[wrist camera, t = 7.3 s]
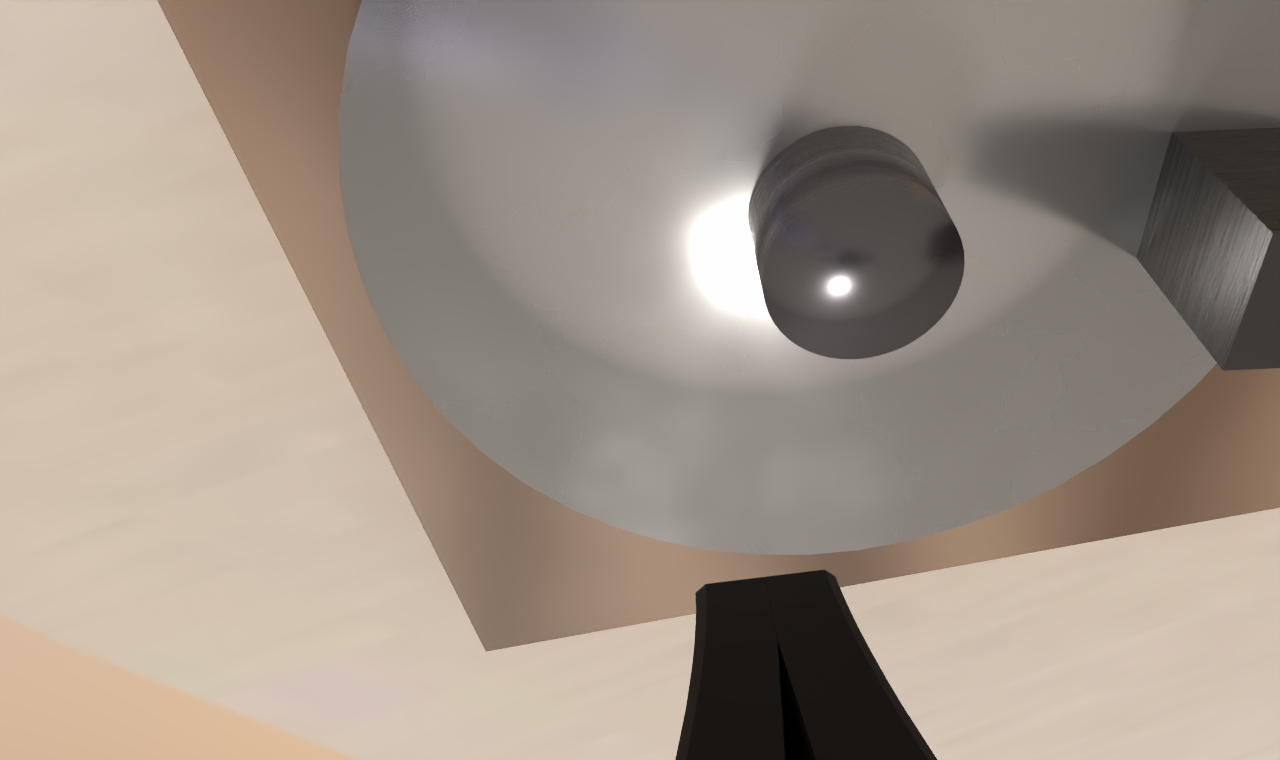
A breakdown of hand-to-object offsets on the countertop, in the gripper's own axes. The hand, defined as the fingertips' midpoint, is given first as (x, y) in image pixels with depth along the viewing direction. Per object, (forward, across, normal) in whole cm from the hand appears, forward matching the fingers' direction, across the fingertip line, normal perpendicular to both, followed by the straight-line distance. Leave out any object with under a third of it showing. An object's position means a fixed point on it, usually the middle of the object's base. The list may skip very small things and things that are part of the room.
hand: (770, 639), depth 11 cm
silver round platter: (+8, -2, -2) cm, 8 cm away
